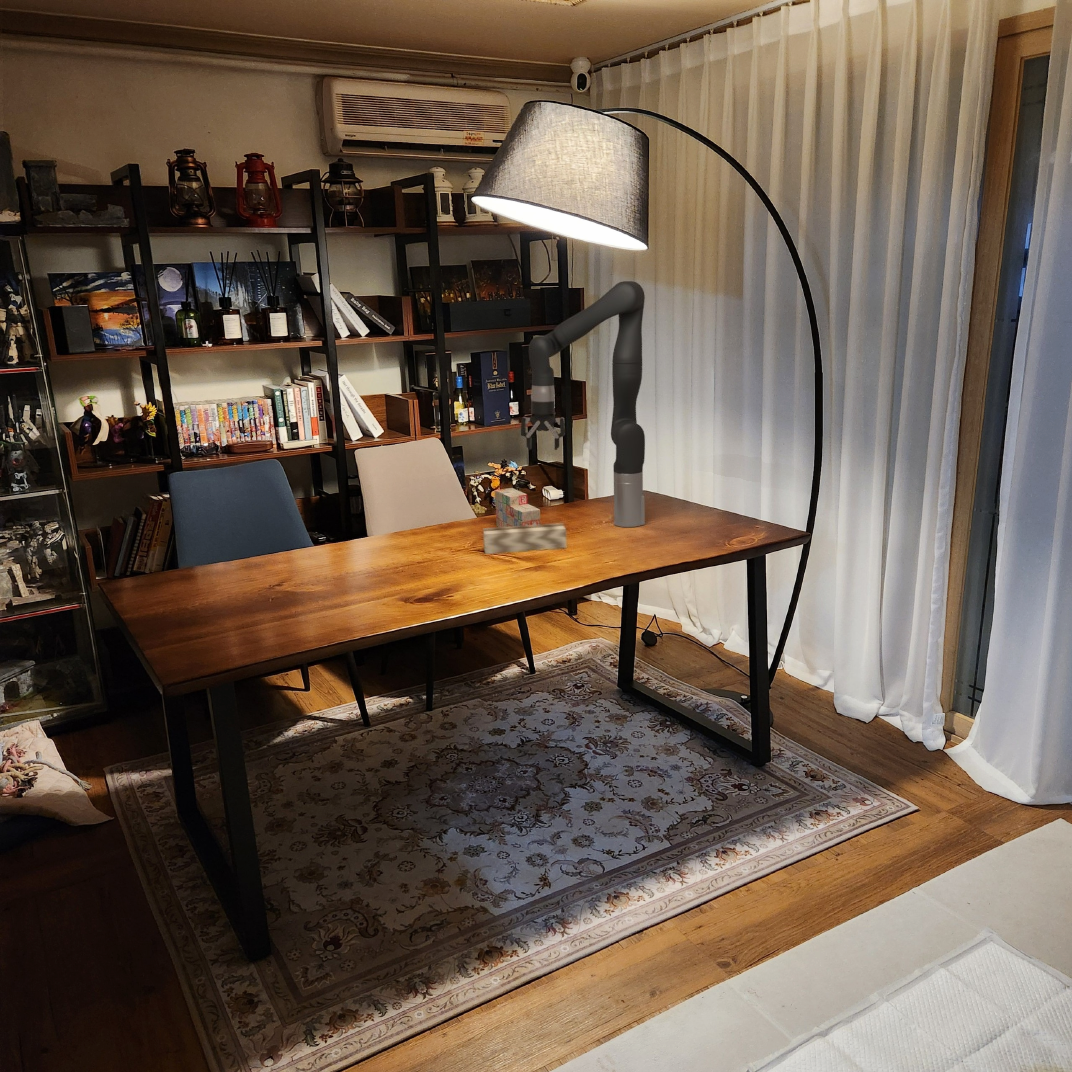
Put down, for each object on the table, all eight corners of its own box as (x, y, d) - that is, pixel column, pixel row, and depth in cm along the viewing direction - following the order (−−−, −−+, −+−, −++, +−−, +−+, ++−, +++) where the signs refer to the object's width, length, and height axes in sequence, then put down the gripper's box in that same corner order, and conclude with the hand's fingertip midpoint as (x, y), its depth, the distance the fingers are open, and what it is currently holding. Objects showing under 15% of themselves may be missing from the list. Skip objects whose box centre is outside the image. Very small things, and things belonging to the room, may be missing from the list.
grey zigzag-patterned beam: (563, 543, 277) (563, 522, 275) (566, 548, 272) (565, 526, 270) (484, 549, 274) (482, 528, 272) (485, 554, 269) (484, 532, 268)
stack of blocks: (541, 538, 284) (539, 499, 281) (522, 541, 282) (521, 502, 278) (513, 523, 303) (512, 487, 300) (496, 526, 300) (494, 489, 297)
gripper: (566, 398, 299) (565, 448, 303) (522, 397, 301) (522, 447, 305) (563, 401, 292) (563, 451, 296) (519, 400, 294) (519, 450, 298)
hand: (542, 449), depth 301 cm, fingers open, 8 cm apart
